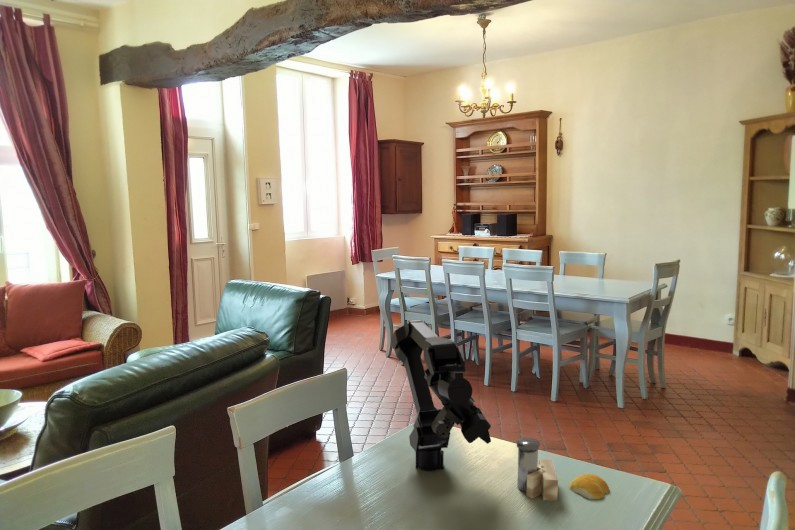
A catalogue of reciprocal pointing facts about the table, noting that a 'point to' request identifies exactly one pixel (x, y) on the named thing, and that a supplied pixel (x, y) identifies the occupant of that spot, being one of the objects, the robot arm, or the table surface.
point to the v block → (543, 481)
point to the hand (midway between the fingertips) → (489, 442)
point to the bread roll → (589, 486)
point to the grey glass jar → (526, 460)
